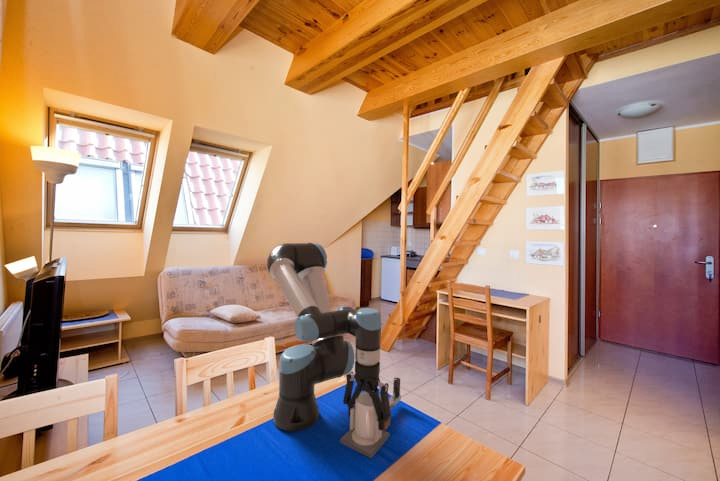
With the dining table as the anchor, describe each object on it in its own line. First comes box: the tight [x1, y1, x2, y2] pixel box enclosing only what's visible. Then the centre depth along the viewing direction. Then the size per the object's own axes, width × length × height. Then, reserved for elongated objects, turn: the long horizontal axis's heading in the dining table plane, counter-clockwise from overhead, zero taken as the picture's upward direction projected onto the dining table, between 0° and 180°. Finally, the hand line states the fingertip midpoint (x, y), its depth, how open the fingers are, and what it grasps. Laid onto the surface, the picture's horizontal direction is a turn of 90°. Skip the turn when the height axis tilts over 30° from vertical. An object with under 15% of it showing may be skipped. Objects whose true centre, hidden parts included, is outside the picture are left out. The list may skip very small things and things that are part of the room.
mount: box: [382, 416, 391, 431], centre depth 104 cm, size 6×4×5 cm, turn 57°
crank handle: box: [389, 377, 402, 411], centre depth 108 cm, size 2×16×8 cm, turn 147°
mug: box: [354, 391, 381, 439], centre depth 95 cm, size 12×8×10 cm
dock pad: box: [339, 428, 390, 459], centre depth 96 cm, size 11×11×1 cm
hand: (365, 432), depth 96 cm, fingers closed on mug, 8 cm apart
